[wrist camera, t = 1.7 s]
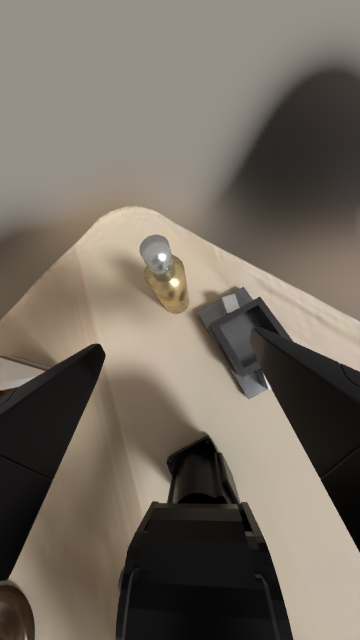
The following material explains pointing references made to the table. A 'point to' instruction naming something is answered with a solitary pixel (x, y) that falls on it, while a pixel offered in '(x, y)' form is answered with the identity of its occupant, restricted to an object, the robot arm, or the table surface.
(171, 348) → the table surface
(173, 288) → the gold perfume bottle
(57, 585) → the table surface
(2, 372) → the white banded pillar
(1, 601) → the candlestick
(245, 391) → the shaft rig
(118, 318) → the table surface
